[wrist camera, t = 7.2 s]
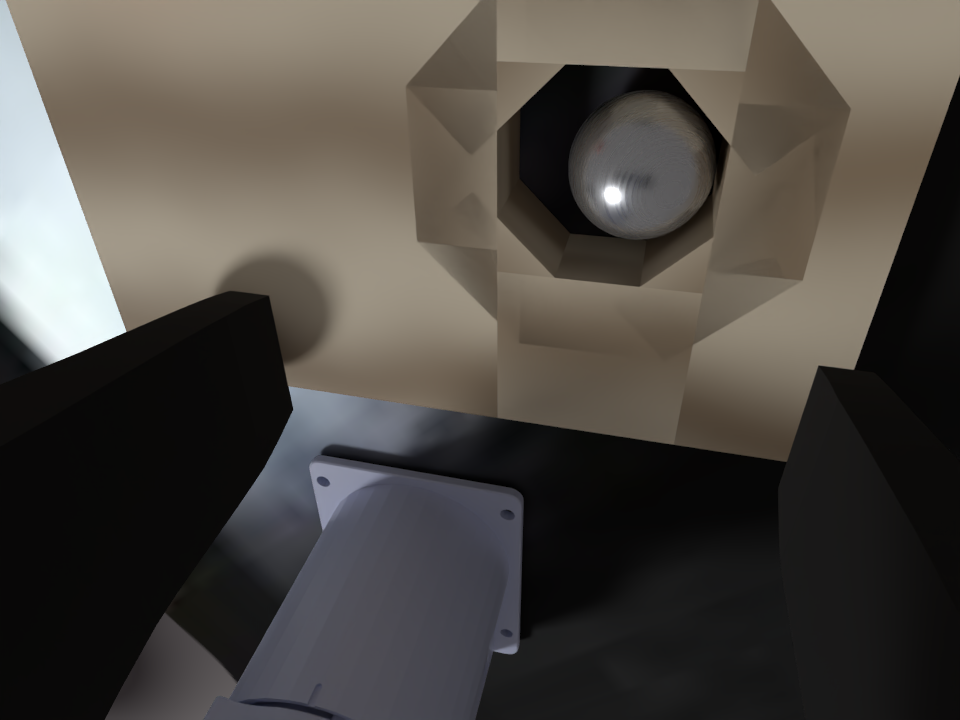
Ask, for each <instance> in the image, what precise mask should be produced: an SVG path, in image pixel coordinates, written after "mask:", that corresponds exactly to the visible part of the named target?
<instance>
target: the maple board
mask: <svg viewBox="0 0 960 720" xmlns="http://www.w3.org/2000/svg"><path fill="white" fill-rule="evenodd" d="M6 2H7V4H8V7H9V10H10V13H11V15H12V18H13V21H14V24H15V26H16V29H17V32H18V35H19V37H20V40H21V43H22V46H23V48H24V51H25V54H26V57H27V59H28V62H29V65H30V68H31V70H32V73H33V76H34V79H35V81H36V84H37V87H38V90H39V92H40V95H41V98H42V101H43V103H44V106H45V109H46V112H47V114H48V117H49V120H50V123H51V125H52V128H53V131H54V134H55V136H56V139H57V142H58V144H59V147H60V150H61V153H62V155H63V158H64V161H65V164H66V166H67V169H68V172H69V175H70V177H71V180H72V183H73V186H74V188H75V191H76V194H77V197H78V199H79V202H80V205H81V208H82V210H83V213H84V216H85V219H86V221H87V224H88V227H89V230H90V232H91V235H92V238H93V241H94V243H95V246H96V249H97V252H98V254H99V257H100V260H101V263H102V265H103V268H104V271H105V274H106V276H107V279H108V282H109V284H110V287H111V290H112V293H113V295H114V298H115V301H116V304H117V306H118V309H119V312H120V315H121V317H122V320H123V323H124V326H125V328H126V331H127V332H128V331H130V330H132V329H135V328H137V327H139V326H142V325H144V324H146V323H148V322H151V321H153V320H155V319H158V318H160V317H162V316H165V315H167V314H169V313H172V312H174V311H176V310H179V309H181V308H184V307H186V306H188V305H191V304H193V303H196V302H198V301H201V300H204V299H206V298H209V297H212V296H215V295H218V294H221V293H224V292H227V291H238V292H246V293H253V294H261V295H269V298H270V302H271V307H272V312H273V316H274V321H275V326H276V331H277V335H278V340H279V345H280V349H281V354H282V359H283V364H284V368H285V373H286V378H287V383H288V386H291V387H298V388H304V389H311V390H318V391H324V392H331V393H337V394H344V395H350V396H357V397H364V398H370V399H377V400H383V401H390V402H397V403H403V404H410V405H416V406H423V407H429V408H436V409H443V410H449V411H456V412H462V413H469V414H475V415H482V416H489V417H495V418H502V419H508V420H515V421H522V422H528V423H535V424H541V425H548V426H554V427H561V428H568V429H574V430H581V431H587V432H594V433H600V434H607V435H614V436H620V437H627V438H633V439H640V440H647V441H653V442H660V443H666V444H673V445H679V446H686V447H693V448H699V449H706V450H712V451H719V452H725V453H732V454H739V455H745V456H752V457H758V458H765V459H772V460H778V461H785V462H787V460H788V457H789V454H790V451H791V448H792V444H793V441H794V438H795V435H796V432H797V429H798V426H799V423H800V420H801V417H802V414H803V411H804V408H805V405H806V402H807V399H808V396H809V393H810V390H811V387H812V384H813V380H814V377H815V374H816V371H817V368H818V365H820V366H828V367H836V368H844V369H851V370H854V368H855V365H856V363H857V360H858V357H859V354H860V352H861V349H862V346H863V343H864V340H865V338H866V335H867V332H868V329H869V326H870V324H871V321H872V318H873V315H874V313H875V310H876V307H877V304H878V301H879V299H880V296H881V293H882V290H883V288H884V285H885V282H886V279H887V276H888V274H889V271H890V268H891V265H892V263H893V260H894V257H895V254H896V251H897V249H898V246H899V243H900V240H901V237H902V235H903V232H904V229H905V226H906V224H907V221H908V218H909V215H910V212H911V210H912V207H913V204H914V201H915V199H916V196H917V193H918V190H919V187H920V185H921V182H922V179H923V176H924V173H925V171H926V168H927V165H928V162H929V160H930V157H931V154H932V151H933V148H934V146H935V143H936V140H937V137H938V135H939V132H940V129H941V126H942V123H943V121H944V118H945V115H946V112H947V110H948V107H949V104H950V101H951V98H952V96H953V93H954V90H955V87H956V84H957V82H958V79H959V76H960V0H6ZM565 64H575V65H599V66H622V67H646V68H669V70H670V71H671V72H672V73H673V75H674V76H675V77H676V78H677V80H678V81H679V82H680V83H681V85H682V86H683V87H684V88H685V89H686V91H687V92H688V93H689V94H690V96H691V97H692V98H693V99H694V101H695V102H696V103H697V104H698V106H699V107H700V108H701V109H702V111H703V112H704V113H705V114H706V116H707V117H708V118H709V119H710V120H711V122H712V123H713V124H714V125H715V127H716V128H717V129H718V130H719V132H720V133H721V134H722V135H723V137H722V142H721V148H720V153H719V159H718V164H717V170H716V175H715V181H714V186H713V192H712V194H711V195H709V196H708V197H707V198H706V200H705V202H704V203H703V205H702V206H701V208H700V209H699V210H698V211H697V213H696V214H695V215H694V216H693V217H692V218H691V219H690V220H688V221H687V222H686V223H685V224H683V225H682V226H681V227H679V228H677V229H676V230H674V231H672V232H670V233H667V234H665V235H663V236H659V237H656V238H651V239H648V240H647V241H645V240H632V239H624V238H613V237H602V236H592V235H581V234H570V233H569V232H568V230H567V229H566V228H565V227H564V226H563V225H562V224H561V223H560V222H559V221H558V220H557V219H556V218H555V216H554V215H553V214H552V213H551V212H550V211H549V210H548V209H547V208H546V207H545V206H544V205H543V204H542V202H541V201H540V200H539V199H538V198H537V197H536V196H535V195H534V194H533V193H532V192H531V191H530V189H529V188H528V187H527V186H526V185H525V184H524V183H523V182H522V181H521V180H520V179H519V163H520V108H521V107H522V106H523V105H524V104H525V103H526V102H527V101H528V100H529V99H530V98H531V97H532V96H533V95H534V94H535V93H536V92H538V91H539V90H540V89H541V88H542V87H543V86H544V85H545V84H546V83H547V82H548V81H549V80H550V79H551V78H552V77H553V76H554V75H555V74H556V73H557V72H558V71H559V70H560V69H561V68H562V67H563V66H564V65H565Z"/></svg>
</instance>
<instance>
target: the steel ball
mask: <svg viewBox="0 0 960 720" xmlns="http://www.w3.org/2000/svg"><path fill="white" fill-rule="evenodd" d="M715 172H716V149H715V144H714V140H713V137H712V134H711V132H710V130H709V127H708V125H707V124H706V122H705V121H704V119H703V118H702V116H701V115H700V114H699V113H698V112H697V111H696V110H695V109H694V108H693V107H692V106H691V105H689V104H688V103H687V102H685V101H684V100H682V99H681V98H679V97H677V96H674V95H672V94H669V93H666V92H662V91H655V90H637V91H631V92H628V93H624V94H621V95H618V96H616V97H614V98H611V99H610V100H608V101H606V102H605V103H603V104H602V105H601V106H599V107H598V108H597V109H596V110H595V111H594V112H593V113H591V114H590V115H589V117H588V118H587V119H586V120H585V121H584V123H583V124H582V126H581V127H580V129H579V131H578V132H577V134H576V136H575V138H574V141H573V144H572V146H571V150H570V155H569V162H568V177H569V184H570V187H571V191H572V194H573V197H574V199H575V201H576V203H577V205H578V206H579V208H580V210H581V211H582V213H583V214H584V215H585V216H586V217H587V218H588V220H590V221H591V222H592V223H593V224H594V225H595V226H597V227H598V228H600V229H601V230H603V231H605V232H607V233H609V234H611V235H614V236H616V237H621V238H625V239H632V240H642V239H651V238H656V237H659V236H663V235H665V234H667V233H670V232H672V231H674V230H676V229H677V228H679V227H681V226H682V225H683V224H685V223H686V222H687V221H688V220H690V219H691V218H692V217H693V216H694V215H695V214H696V213H697V211H698V210H699V209H700V208H701V206H702V205H703V203H704V202H705V200H706V198H707V196H708V194H709V192H710V190H711V187H712V184H713V181H714V177H715Z"/></svg>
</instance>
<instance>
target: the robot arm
mask: <svg viewBox="0 0 960 720" xmlns="http://www.w3.org/2000/svg"><path fill="white" fill-rule="evenodd" d="M292 411H293V406H292V401H291V397H290V392H289V387H288V383H287V378H286V373H285V368H284V364H283V359H282V354H281V349H280V345H279V340H278V335H277V331H276V326H275V321H274V316H273V312H272V307H271V302H270V298H269V295H261V294H253V293H246V292H238V291H227V292H224V293H221V294H218V295H215V296H212V297H209V298H206V299H204V300H201V301H198V302H196V303H193V304H191V305H188V306H186V307H184V308H181V309H179V310H176V311H174V312H172V313H169V314H167V315H165V316H162V317H160V318H158V319H155V320H153V321H151V322H148V323H146V324H144V325H142V326H139V327H137V328H135V329H132V330H130V331H128V332H126V333H123V334H121V335H119V336H116V337H114V338H112V339H110V340H107V341H105V342H103V343H100V344H98V345H96V346H94V347H91V348H89V349H87V350H84V351H82V352H80V353H77V354H75V355H72V356H70V357H67V358H65V359H63V360H60V361H58V362H55V363H53V364H50V365H48V366H45V367H43V368H40V369H38V370H35V371H33V372H30V373H28V374H25V375H23V376H20V377H18V378H15V379H13V380H11V381H8V382H6V383H3V384H1V385H0V720H105V718H106V716H107V714H108V712H109V710H110V708H111V706H112V704H113V702H114V700H115V699H116V697H117V695H118V693H119V691H120V689H121V687H122V686H123V684H124V682H125V680H126V679H127V677H128V675H129V673H130V671H131V669H132V668H133V666H134V664H135V662H136V660H137V659H138V657H139V655H140V653H141V652H142V650H143V648H144V646H145V645H146V642H147V641H148V639H149V637H150V636H151V634H152V632H153V630H154V628H155V627H156V625H157V623H158V622H159V620H160V619H161V617H162V616H163V614H164V612H165V611H166V609H167V608H168V606H169V605H170V603H171V602H172V600H173V598H174V597H175V595H176V594H177V592H178V591H179V590H180V588H181V587H182V585H183V584H184V582H185V581H186V580H187V578H188V577H189V575H190V574H191V573H192V571H193V570H194V568H195V567H196V565H197V564H198V563H199V561H200V560H201V558H202V557H203V555H204V554H205V553H206V551H207V550H208V548H209V547H210V545H211V544H212V543H213V541H214V540H215V538H216V537H217V535H218V534H219V533H220V531H221V530H222V528H223V527H224V526H225V524H226V523H227V521H228V520H229V518H230V517H231V516H232V514H233V513H234V511H235V510H236V508H237V507H238V505H239V504H240V503H241V501H242V500H243V498H244V497H245V495H246V494H247V492H248V491H249V489H250V488H251V486H252V485H253V484H254V482H255V481H256V479H257V478H258V476H259V475H260V473H261V472H262V470H263V469H264V467H265V465H266V463H267V461H268V459H269V457H270V456H271V454H272V452H273V450H274V448H275V446H276V444H277V442H278V440H279V438H280V436H281V434H282V432H283V430H284V428H285V426H286V423H287V421H288V419H289V417H290V415H291V413H292ZM309 469H310V474H311V478H312V483H313V488H314V492H315V497H316V502H317V506H318V511H319V516H320V520H321V525H322V530H323V532H322V534H321V536H320V537H319V539H318V541H317V543H316V545H315V546H314V548H313V550H312V552H311V553H310V555H309V557H308V559H307V561H306V562H305V564H304V566H303V568H302V569H301V571H300V573H299V575H298V577H297V578H296V580H295V582H294V584H293V586H292V587H291V589H290V591H289V593H288V594H287V596H286V598H285V600H284V602H283V603H282V605H281V607H280V609H279V610H278V612H277V614H276V616H275V618H274V619H273V621H272V623H271V625H270V626H269V628H268V630H267V632H266V634H265V635H264V637H263V639H262V641H261V643H260V644H259V646H258V648H257V650H256V651H255V653H254V655H253V657H252V659H251V660H250V662H249V664H248V666H247V667H246V669H245V671H244V673H243V675H242V676H241V678H240V680H239V682H238V683H237V685H236V687H235V689H234V691H233V693H232V694H231V696H230V698H229V699H228V698H225V697H223V696H217V697H216V699H215V700H214V702H213V704H212V705H211V707H210V709H209V711H208V712H207V714H206V716H205V718H204V719H203V720H475V718H476V714H477V710H478V706H479V703H480V699H481V695H482V691H483V687H484V684H485V680H486V676H487V672H488V668H489V665H490V661H491V657H492V653H493V651H496V652H501V653H505V654H514V653H516V652H517V651H518V648H519V644H520V614H521V579H522V543H523V508H524V499H523V496H522V495H521V493H520V492H518V491H517V490H515V489H513V488H509V487H503V486H498V485H492V484H486V483H480V482H475V481H469V480H463V479H457V478H451V477H446V476H440V475H434V474H428V473H422V472H417V471H411V470H405V469H399V468H394V467H388V466H382V465H376V464H370V463H365V462H359V461H353V460H347V459H341V458H336V457H330V456H324V455H318V456H316V457H315V458H314V459H313V460H312V462H311V464H310V466H309ZM506 510H510V511H512V512H509V511H506ZM778 514H779V549H780V565H781V572H782V579H783V585H784V592H785V598H786V604H787V611H788V617H789V623H790V629H791V635H792V641H793V647H794V653H795V660H796V666H797V672H798V678H799V684H800V690H801V696H802V702H803V708H804V714H805V720H960V461H959V460H958V459H957V458H956V457H955V456H954V455H953V454H952V453H951V452H950V451H949V450H948V449H947V448H946V447H945V446H944V445H943V443H942V442H941V441H940V440H939V439H938V438H937V437H936V436H935V435H934V434H933V433H932V432H931V431H930V430H929V429H928V428H927V426H926V425H925V424H924V423H923V422H922V421H921V420H920V419H919V418H918V417H917V416H916V415H915V414H914V413H913V412H912V410H911V409H910V408H909V407H908V406H907V405H906V404H905V403H904V402H903V401H902V400H901V399H900V398H899V397H898V396H897V395H896V394H895V392H894V391H893V390H892V389H891V388H890V387H889V386H888V385H887V384H886V383H885V382H884V381H883V380H882V379H881V378H880V377H879V376H878V375H877V374H875V373H874V372H867V371H859V370H851V369H844V368H836V367H828V366H820V365H818V368H817V371H816V374H815V377H814V380H813V384H812V387H811V390H810V393H809V396H808V399H807V402H806V405H805V408H804V411H803V414H802V417H801V420H800V423H799V426H798V429H797V432H796V435H795V438H794V441H793V444H792V448H791V451H790V454H789V457H788V460H787V463H786V466H785V469H784V472H783V475H782V478H781V481H780V484H779V487H778Z"/></svg>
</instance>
